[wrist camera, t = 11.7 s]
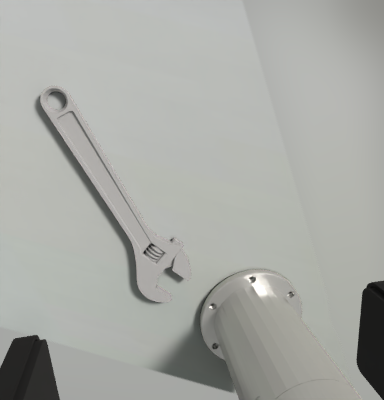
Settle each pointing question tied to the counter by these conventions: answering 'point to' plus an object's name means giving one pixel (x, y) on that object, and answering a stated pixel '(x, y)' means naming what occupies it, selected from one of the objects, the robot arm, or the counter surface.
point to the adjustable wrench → (118, 200)
